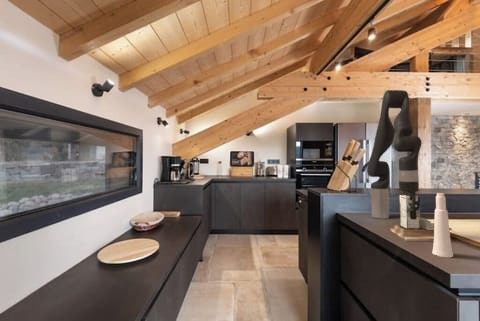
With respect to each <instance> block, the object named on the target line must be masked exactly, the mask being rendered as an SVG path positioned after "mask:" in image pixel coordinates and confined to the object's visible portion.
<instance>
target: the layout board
mask: <svg viewBox="0 0 480 321" xmlns="http://www.w3.org/2000/svg"><path fill="white" fill-rule="evenodd" d="M389 230H390V231H391V232H392V233H394V234H395V235H397V236H399V237H400V238H402V239H403V240H404V241H406V242H434V230H426V229H424V228H422V227H420V229H407V228H404V227H402V226H401V225H400V224H399V225H398V224H394V226H393V227H390V228H389ZM450 241H451V242H452V239H451V238H450Z"/></svg>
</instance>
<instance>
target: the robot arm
mask: <svg viewBox="0 0 480 321" xmlns="http://www.w3.org/2000/svg"><path fill="white" fill-rule="evenodd" d="M390 109H400V112H399V113H398V114H397V115H396V116H395V118H394V120H393V123H392V120H391V118H390V116H389V115H390V114H389V113H390V112H389V111H390ZM410 112H411V111H410V97H409V93H408V91H406V90H403V89H402V90H401V89H396V90H395V89H388V90H386V91H385V92H384V93H383V96H382V101H381V109H380V116H379V121H378V124H377V129H376V133H375V137H374V143H373V147H372V150H371V155H370V157H369V160H368V163H367V167H366V168H367V169H366V172H367V176H368V177H371V178H378V179H377V180H376V181H374V182H372V183H371V184H370V194H371V196H370V198H371V200H370V201H371V217H372V218H376V219H389V218H390V198H389V196H390V195H389V194H390V193H389V184H390V167H389V164H388V162H387V161H383V160H382V161H380V159H381V158H382V156H383V155H384V153H386V152H387V151H388V150H389V149H390V147H391V146H392V145H393V148H394V150H395V151H397V152H398V153H406V152H409V153H410V154H409V155H408V156H404V157H400V158H399V159H398V190H399V191H400V193H399V196H400V195H407V196H409V197H410V200H412V203H410V202H408V205H409V206H410V218H411V219H417V216H416V211H417V210H419V207H420V208H421V205H420V203H421V198H420V196H419V197H416V195H417V194H416V192H419V191H420V184H419V183H420V182H419V181H420V179H419V170H418V159H419V158H418V157H419V154H420V151H421V146H422V139H421V138H420V137H419V136H418V135H413V133H414V129H413V125H412V121H411V115H410ZM411 205H412V206H411ZM416 205H417V206H416Z"/></svg>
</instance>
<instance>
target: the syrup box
mask: <svg viewBox="0 0 480 321" xmlns="http://www.w3.org/2000/svg"><path fill="white" fill-rule="evenodd" d="M416 197H420V196H419V195H417V194H416ZM408 202H410V203H412V200H410V197H409V196H407V195H399V219H400V222H399V223H400V224H399V225H401V226H402V227H404V228H407V229H420V217H421V215H420V214H421V213H420V212H421V210H420V209H421V206H420V207H419V210H417V211H416V216H417V219H411V218H410V206H409V205H408ZM411 206H412V205H411ZM416 206H417V205H416Z"/></svg>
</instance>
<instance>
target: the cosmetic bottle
mask: <svg viewBox="0 0 480 321" xmlns="http://www.w3.org/2000/svg"><path fill="white" fill-rule="evenodd" d="M446 201H447V200H446V196H445V193H441V192H437V193H436V196H435V209H434V218H433V219H434V222H433V223H434V241H433V245H432V246H433V247H432V251H431V253H432V254H433V255H435V256H436V255H437V257H440V258H452V257H454V252H453V248H452V243H451V242H452V240H451V241H450V239H451V234H450V233H451V232H450V230H449V227H450V223H449V212H448V210H447V203H446Z"/></svg>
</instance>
